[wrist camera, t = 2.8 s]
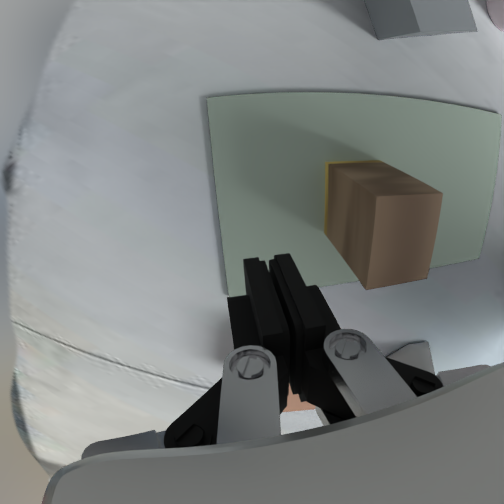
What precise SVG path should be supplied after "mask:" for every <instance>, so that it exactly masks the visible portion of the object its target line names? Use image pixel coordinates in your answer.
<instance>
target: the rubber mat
mask: <svg viewBox="0 0 504 504" xmlns="http://www.w3.org/2000/svg"><path fill="white" fill-rule="evenodd" d="M207 107H208V118H209V128H210V138H211V148H212V158H213V168H214V177H215V187H216V196H217V205H218V213H219V222H220V230H221V239H222V247H223V255H224V263H225V271H226V279H227V287H228V294H229V297H234V296H242V295H246V288H245V277H244V266H243V259H247V258H255V257H259V260H260V261H263V260H265V262H266V265H267V268H268V270H269V260H271V259H274V255H278V254H286V253H290V254H291V256H292V258H293V260H294V262H295V264H296V266H297V268H298V270H299V272H300V274H301V276H302V278H303V280H304V282H305V284H306V286H311V285H317V286H318V287H323V286H330V285H336V284H343V283H349V282H355V281H359V280H358V278H357V277H356V275H355V274H354V273H353V271H352V270H351V269H350V267H349V266H348V264H347V263H346V262H345V260H344V259H343V258H342V256H341V255H340V254H339V252H338V251H337V250H336V248H335V247H334V245H333V244H332V243H331V241H330V240H329V239H328V238H327V236H326V235H325V234H324V218H325V162H334V161H368V160H380V161H382V162H384V163H386V164H388V165H390V166H393V167H395V168H397V169H399V170H401V171H403V172H404V173H406V174H408V175H410V176H412V177H414V178H416V179H418V180H420V181H422V182H424V183H425V184H427V185H429V186H431V187H433V188H435V189H436V190H438V191H440V192H442V193H443V197H442V204H441V211H440V217H439V223H438V229H437V234H436V239H435V244H434V249H433V254H432V259H431V263H430V268H435V267H440V266H445V265H450V264H455V263H460V262H465V261H470V260H475V259H479V256H480V253H481V249H482V245H483V241H484V237H485V233H486V228H487V224H488V219H489V214H490V209H491V204H492V198H493V193H494V187H495V180H496V173H497V165H498V157H499V147H500V135H501V118H502V115H500V114H496V113H492V112H488V111H483V110H479V109H474V108H469V107H464V106H459V105H453V104H447V103H441V102H435V101H428V100H421V99H413V98H405V97H396V96H385V95H373V94H358V93H334V92H282V93H258V94H243V95H230V96H219V97H210V98H207ZM430 268H429V269H430Z"/></svg>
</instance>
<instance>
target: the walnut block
mask: <svg viewBox="0 0 504 504" xmlns="http://www.w3.org/2000/svg"><path fill="white" fill-rule="evenodd" d="M442 197H443V193H442V192H440V191H438V190H436V189H435V188H433V187H431V186H429V185H427V184H425V183H424V182H422V181H420V180H418V179H416V178H414V177H412V176H410V175H408V174H406V173H404V172H403V171H401V170H399V169H397V168H395V167H393V166H390V165H388V164H386V163H384V162H382V161H380V160H368V161H334V162H325V218H324V234H325V235H326V236H327V238H328V239H329V240H330V241H331V243H332V244H333V245H334V247H335V248H336V250H337V251H338V252H339V254H340V255H341V256H342V258H343V259H344V260H345V262H346V263H347V264H348V266H349V267H350V269H351V270H352V271H353V273H354V274H355V275H356V277H357V278H358V280H359V281H360V282H361V284H362V285H363V287H364V288H365V289H366V290H369V289H374V288H380V287H385V286H391V285H396V284H401V283H407V282H412V281H417V280H422V279H427V276H428V272H429V268H430V263H431V259H432V254H433V249H434V244H435V239H436V234H437V229H438V223H439V217H440V211H441V204H442Z"/></svg>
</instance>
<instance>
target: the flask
mask: <svg viewBox="0 0 504 504" xmlns="http://www.w3.org/2000/svg"><path fill="white" fill-rule="evenodd" d="M387 358H390V359H393V360H396V361H399V362H402V363H405V364H408V365H411V366H414V367H417V368H420V369H423V370H426V371H428V372H430V373H433V374H434V375H435V372H434V367H433V362H432V357H431V352H430V348H429V344H428V342H421V343H414V344H408V345H406V346H405V347H403V348H401V349H400V350H398V351H397V352H395V353H393V354H391V355H390V356H388V357H387Z"/></svg>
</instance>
